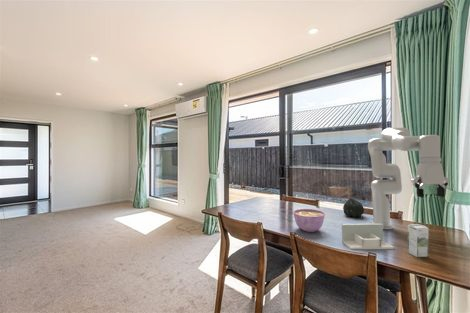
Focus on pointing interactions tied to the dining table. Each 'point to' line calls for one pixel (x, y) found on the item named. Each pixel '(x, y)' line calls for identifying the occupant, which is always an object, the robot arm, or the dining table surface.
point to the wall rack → (364, 236)
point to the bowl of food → (309, 219)
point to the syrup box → (418, 240)
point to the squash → (353, 208)
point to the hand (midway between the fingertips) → (430, 196)
